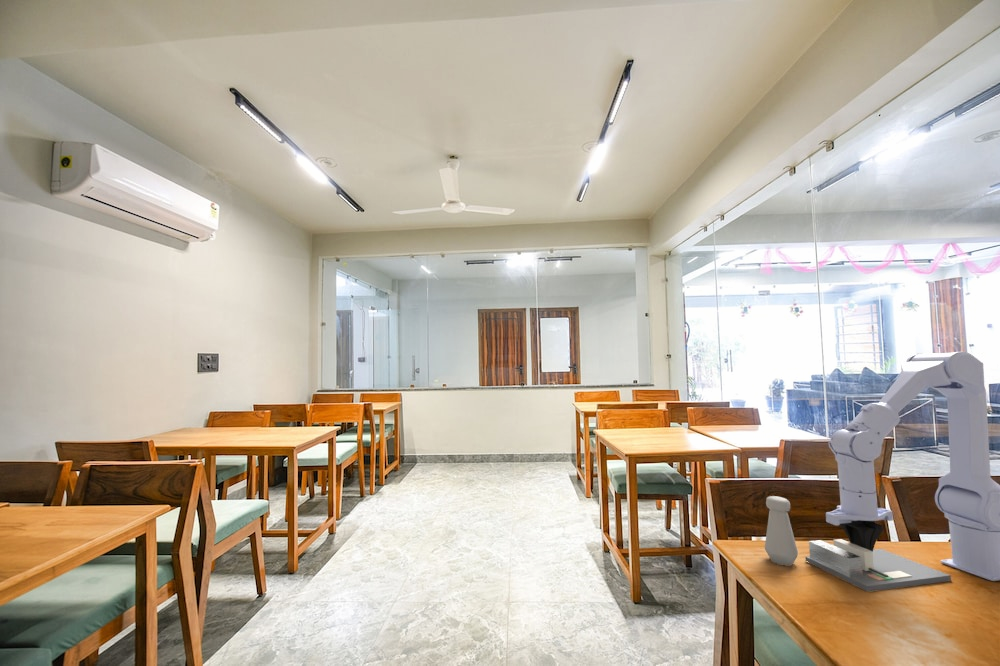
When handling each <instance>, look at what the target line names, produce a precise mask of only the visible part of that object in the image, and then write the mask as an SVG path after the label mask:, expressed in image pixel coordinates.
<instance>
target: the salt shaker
mask: <svg viewBox="0 0 1000 666" xmlns="http://www.w3.org/2000/svg"><path fill="white" fill-rule="evenodd" d="M765 504H766V508H768V509H769V513H768V520H767V527H766V534H765V535H766V536H765V543H764V550H765V552H766V553H767V555H768V557H769V559H770V561H771V562H772V563H774V564H776V563H777V564H776V565H779V566H783V565H787V566H786V567H792V566H793V565H794V564H793V563H795V562H796V559H797V557H798V547H797V543H796V540H795V536H794V532H793V529H792V524H791V521H790V516H789V513H788V512H790V510H791V503H790V501H789V499H787V498H785V497H782V496H775V495H772V496H771V495H769V496H767V497H766V501H765ZM792 564H793V565H792ZM791 565H792V566H791Z"/></svg>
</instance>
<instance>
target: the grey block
mask: <svg viewBox="0 0 1000 666" xmlns="http://www.w3.org/2000/svg"><path fill="white" fill-rule="evenodd" d="M808 549H809V550H808V551H809V556H810V559H811V560H814V561H816V562H818V563H820V564H822V565H824V566H826V567H828V568H830V569H832V570H835V571H837V572H839V573H841V574H843V575H845V576H847V577H849V578H853V577H861V576H863V573H862V560H861V557H860V556H858V555H855V554H853V553H850V552H848V551H846V550H843V549H841V548H838V547H836V546H834V544H831V543H828V542H826V541H823V540H822V539H817V540H809V541H808Z"/></svg>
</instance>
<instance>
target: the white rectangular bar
mask: <svg viewBox="0 0 1000 666" xmlns="http://www.w3.org/2000/svg"><path fill="white" fill-rule="evenodd" d="M832 540H833V545H834V546H836V547H838V548H841V549H843V550H846V551H848V552H850V553H853V554H855V555H858V556H860V557H861V560H862V570H864V571H873V572H875V573H878V574H880V575H882V576H884V577H888V575H886V574H884V573H882V572H879V571H877V570H875V569H874V564H873V552H872V551H870V550H868V549H865V548H863V547H860V546H858V545H855V544H853V543H850V541H847V540H844V539H842V538H838V539H832Z"/></svg>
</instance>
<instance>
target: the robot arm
mask: <svg viewBox="0 0 1000 666" xmlns="http://www.w3.org/2000/svg"><path fill="white" fill-rule="evenodd" d="M900 367H901V372H900V374H899V375H898V376H897V378H896V380H895V381H894V382H893V383H892V385H891V386H890V387H889V389H888V390H887V391H886V392H885V394H884V395H883V396H882V397H881V398H880V400H879V401H878V402H870V403H868V404H863V406H861V408H860V410H861V411H860V412H859V413H858V414H857V415H856V416H855V417H854V418H853V419H852V420H851V422H848V423H847V424H846V427H845V428H842V429H838V430H837V431H834V433H833V434H832V435H831V436H830V441H828V442H827V444H828V447H829V449H830V450H831V452H832V453H833V454H834V459H835V461H836V463H837V473H838V486H839V498H840V499H839V500H840V501H839V502H840V505H837V506H836V509H834V510H832V511H827V512H825V521H826V523H828V524H831V525H833V526H840V527H841V528H842V529H843V530H842V531H844V533H845V535H846V536H847V538H848V540H849V541H848V542H850V543H853V544H855V545H858V546H860V547H863V548H865V549H868V550H870V551H872V552H873V549H875V545H876V542H877V540H878V539H879V536H881V534H882V533H883V531H884V526H883V525H881V524H878V523H877V522H876V521H885V520H886V521H890V522H892V521H894V515H893V511H892V510H890V509H887V508H883V507H878V498H877V487H876V485H877V484H876V476H875V474H876V473H875V462H874V460H876V459H877V458H879V457H880V456H881V454H882V449H883V448H882V445H883V444H884V439H886V437H887V436H888V435H889V434H890V433H891V432H892V430H893V429H895V427H896V426H897V425H898V424H899V423H901V417H900V415H899V413H900V411H902V410H903V409H904V408H905V407H906V406H907V405H908V404H910V403H911V401H913V400H914V399H915V398H917V396H918V395H919V394H921V393H922V392H923V391H924V390H925V389H928V388H931V389H934V390H936V391H938V392H939V394H941V395H943V396H944V397H945V398H946V400H947V401H946V402H947V422H948V424H947V425H948V427H947V428H948V449H949V451H948V452H949V472H948V473H947V474H944V475H943V476H941V477H939V478H938V487H937V489H936V491H935V493H934V501H935V505H936V507H937V508H938V509H939V511H940V512H942V513H944V514H943V515H944V518H945V519H947V520H948V529H949V539H950V547H951V549H950V550H951V556H952V558H947V559H946V558H945V559H940V563H941V564H945V565H947V566H949V567H952V568H955V569H957V570H960V571H963V572H966V573H969V574H971V575H974V576H977V577H979V578H983V579H985V580H988V581H991V582H996V581H1000V484H999V483H998V482H996V481H995V480H993V478H992V477H991V462H990V461H991V460H990V445H989V444H990V440H989V425H988V424H989V423H988V420H989V419H988V405H987V401H988V400H987V390H986V386H985V372H984V363H983V361H980V360H979V359H978V358H977V357H975V356H974V355H972V354H971V353H969V352H966V351H955V352H942V353H941V352H939V353H938V352H937V353H915V354H912V355H910V356H909V357H908V358H907V359H906V361H905V362H903V363H902V364H901V365H900Z"/></svg>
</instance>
